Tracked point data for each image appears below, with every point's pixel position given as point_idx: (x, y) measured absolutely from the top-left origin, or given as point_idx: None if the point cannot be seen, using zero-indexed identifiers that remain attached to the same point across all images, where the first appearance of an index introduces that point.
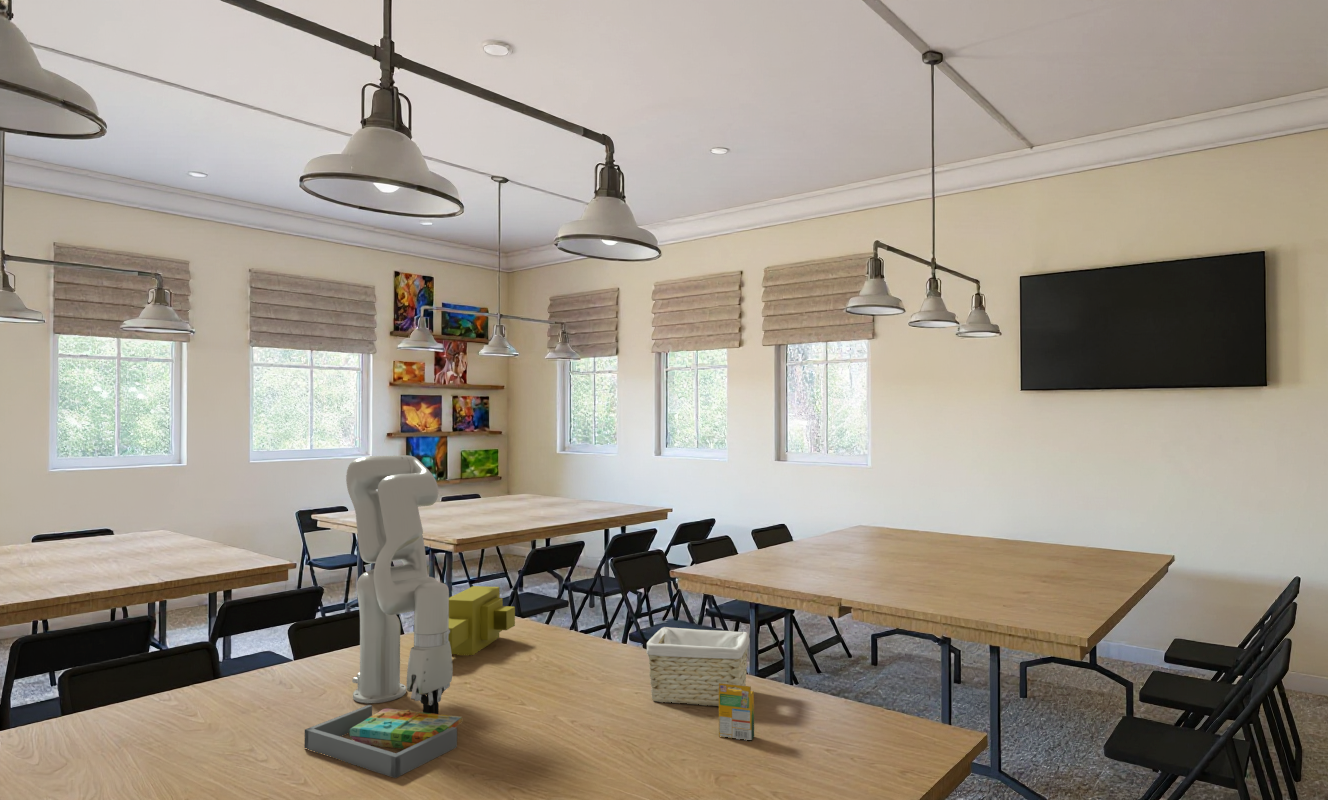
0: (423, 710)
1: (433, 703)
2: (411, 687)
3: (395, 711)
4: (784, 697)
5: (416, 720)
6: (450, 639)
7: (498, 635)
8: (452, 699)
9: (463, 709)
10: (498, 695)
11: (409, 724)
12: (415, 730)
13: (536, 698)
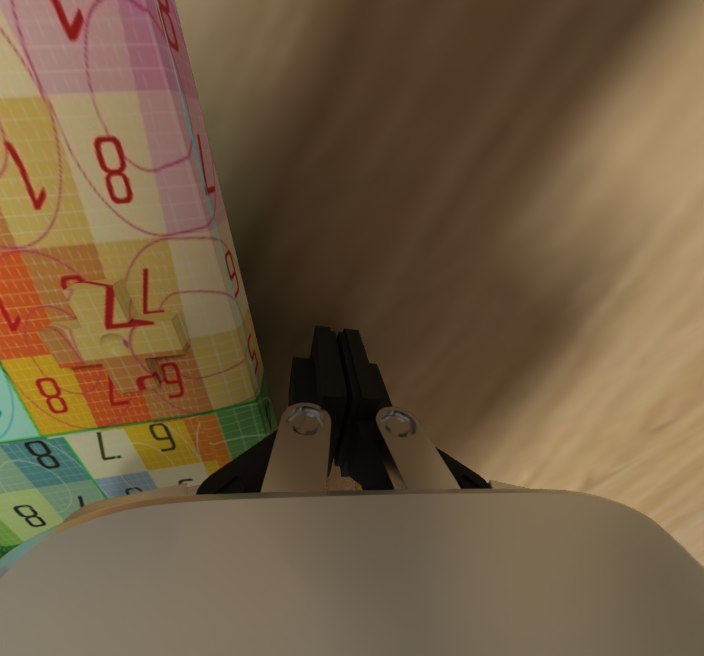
0: (293, 385)
1: (343, 452)
2: (159, 535)
3: (126, 199)
4: None
5: (131, 444)
6: None
7: None
8: (700, 223)
9: (544, 357)
10: (695, 386)
11: (47, 451)
12: (13, 524)
13: (632, 490)
